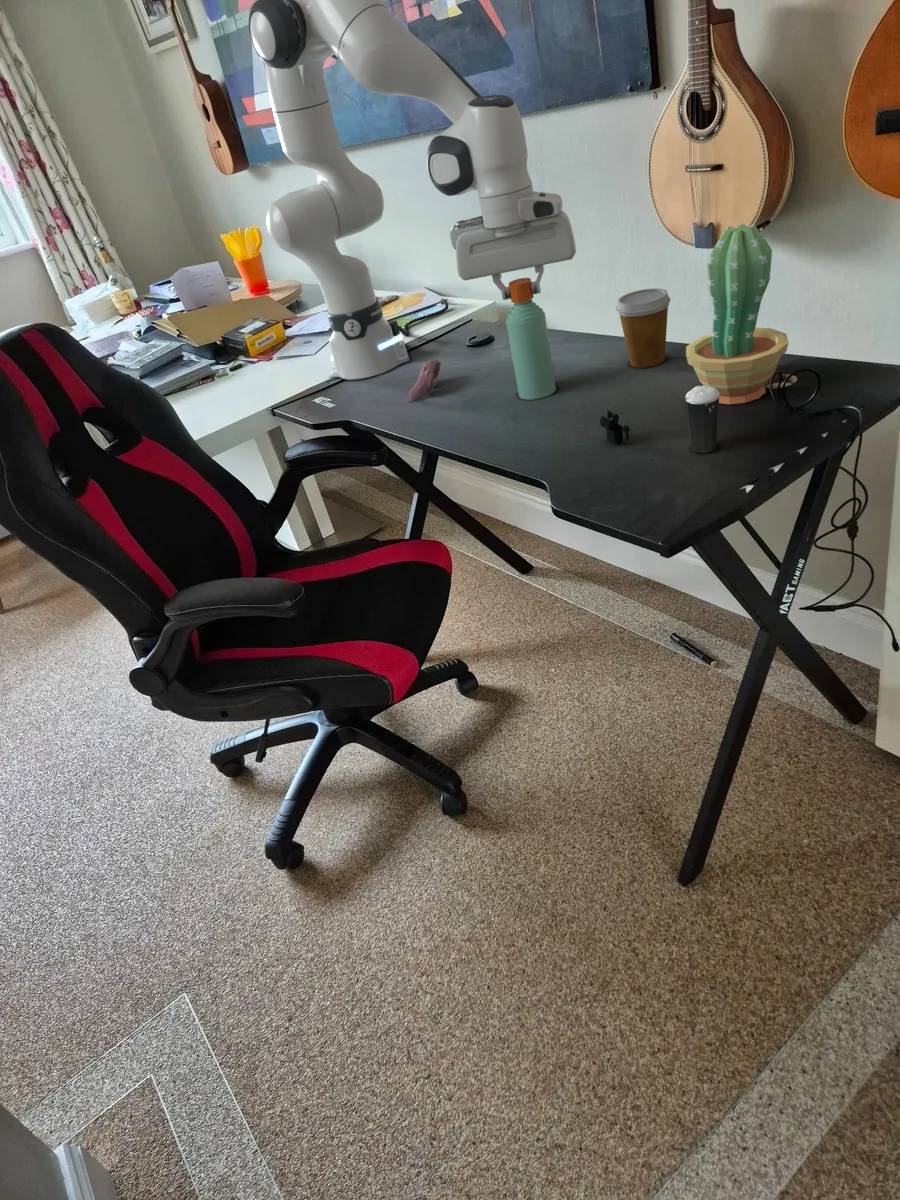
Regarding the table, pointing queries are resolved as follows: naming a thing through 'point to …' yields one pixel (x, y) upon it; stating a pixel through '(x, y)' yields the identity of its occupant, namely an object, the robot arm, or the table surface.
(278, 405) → the table surface
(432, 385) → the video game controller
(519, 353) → the bottle
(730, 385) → the potted cactus
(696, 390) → the glass of dark beer
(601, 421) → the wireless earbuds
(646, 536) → the table surface
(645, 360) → the disposable coffee cup
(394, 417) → the table surface
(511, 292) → the cap
